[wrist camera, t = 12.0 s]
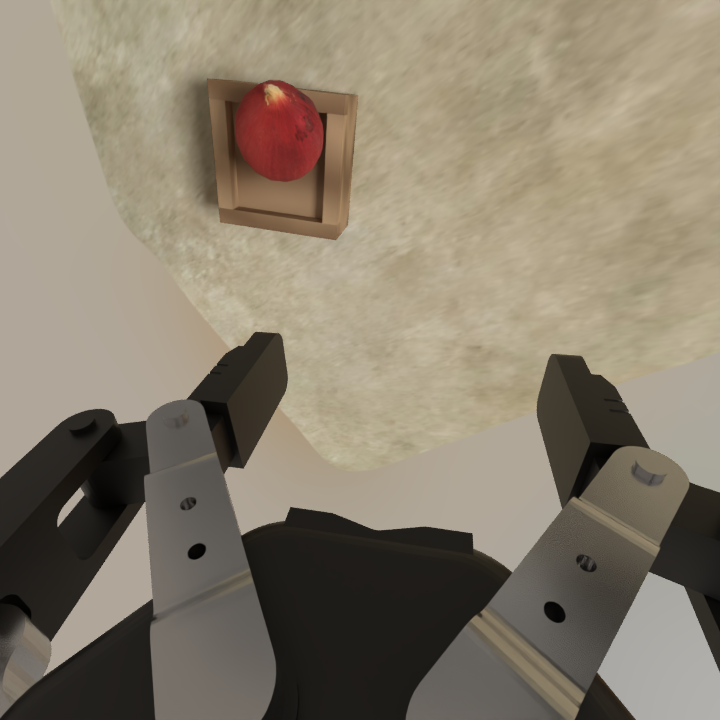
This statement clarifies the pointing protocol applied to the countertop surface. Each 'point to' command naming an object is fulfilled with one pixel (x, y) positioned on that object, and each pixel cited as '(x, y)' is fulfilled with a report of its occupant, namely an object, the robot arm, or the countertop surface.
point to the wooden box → (276, 198)
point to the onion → (278, 131)
